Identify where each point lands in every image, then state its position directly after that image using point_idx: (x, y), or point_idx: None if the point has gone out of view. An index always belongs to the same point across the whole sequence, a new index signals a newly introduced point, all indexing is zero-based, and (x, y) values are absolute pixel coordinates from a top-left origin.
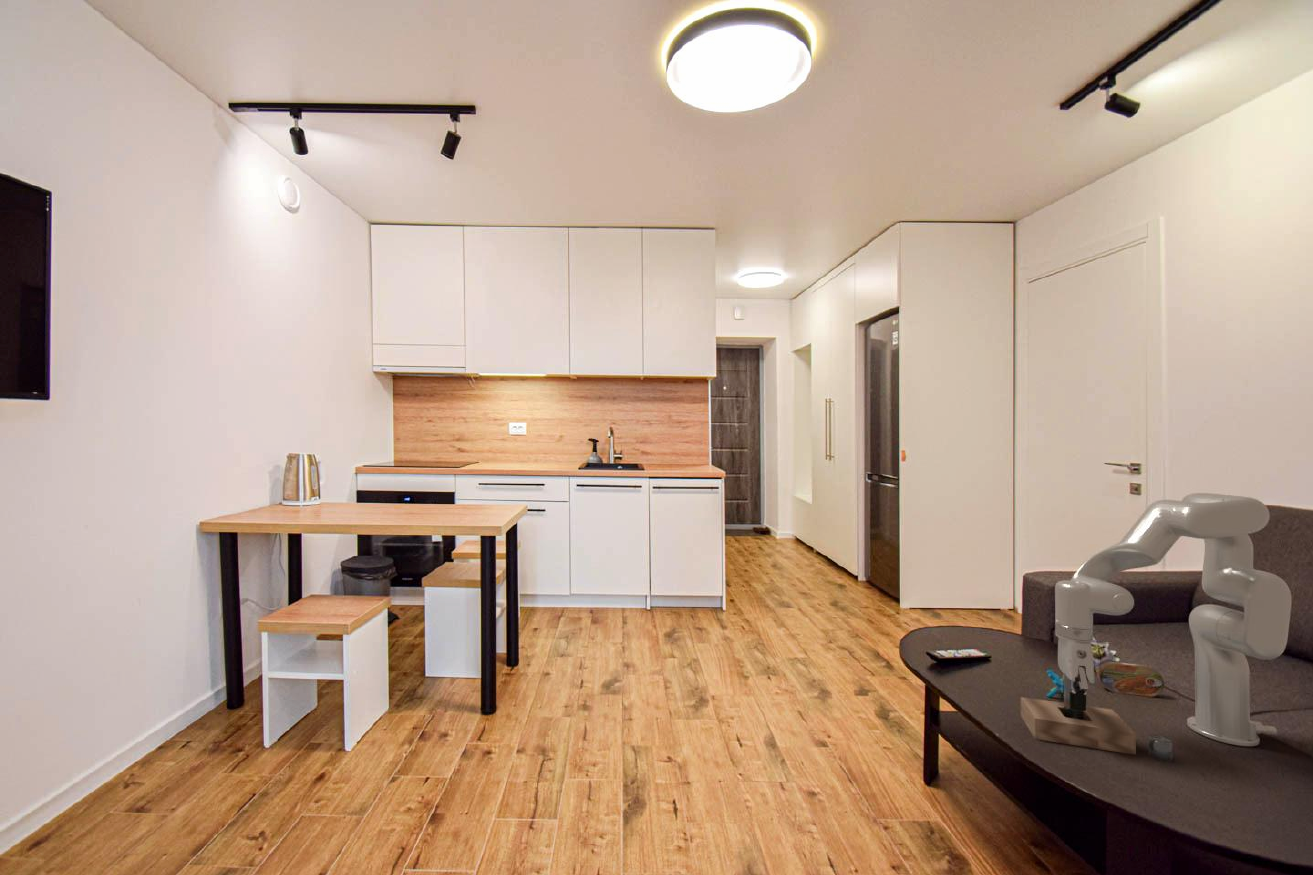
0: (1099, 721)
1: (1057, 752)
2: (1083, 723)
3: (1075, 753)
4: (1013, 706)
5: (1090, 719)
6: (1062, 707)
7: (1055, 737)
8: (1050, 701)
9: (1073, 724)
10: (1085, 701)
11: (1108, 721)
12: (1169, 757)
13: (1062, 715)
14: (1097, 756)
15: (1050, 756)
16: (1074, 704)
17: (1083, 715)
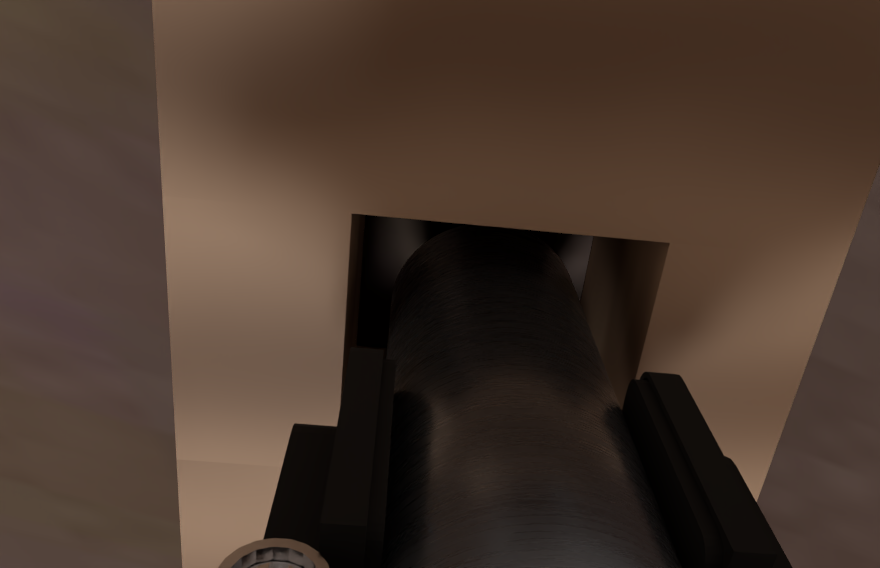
0: (666, 156)
1: (819, 503)
2: (745, 374)
3: (830, 392)
4: (49, 539)
5: (597, 232)
6: (332, 421)
7: None
8: (187, 480)
9: (761, 469)
10: (718, 462)
11: (650, 23)
12: None
13: None
14: (876, 246)
15: (876, 561)
16: None
17: (575, 313)
